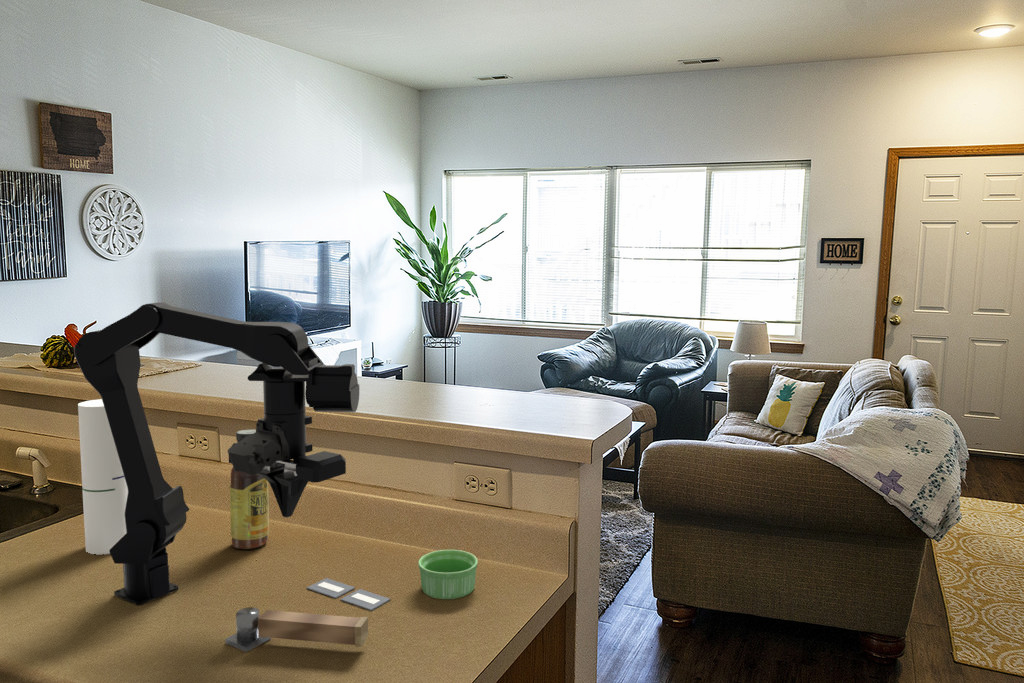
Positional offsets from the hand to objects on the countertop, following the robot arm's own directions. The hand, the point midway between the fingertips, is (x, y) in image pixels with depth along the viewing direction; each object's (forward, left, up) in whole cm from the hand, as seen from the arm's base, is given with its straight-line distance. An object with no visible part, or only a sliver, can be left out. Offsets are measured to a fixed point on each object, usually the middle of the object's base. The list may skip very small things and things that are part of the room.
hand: (287, 516), depth 109 cm
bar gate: (+14, -8, -11) cm, 20 cm away
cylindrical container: (-40, -4, -12) cm, 42 cm away
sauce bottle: (-21, +10, -12) cm, 26 cm away
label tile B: (+10, +5, -12) cm, 17 cm away
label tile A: (+3, +5, -12) cm, 13 cm away
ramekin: (+18, +15, -12) cm, 27 cm away
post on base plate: (+6, -12, -12) cm, 18 cm away
